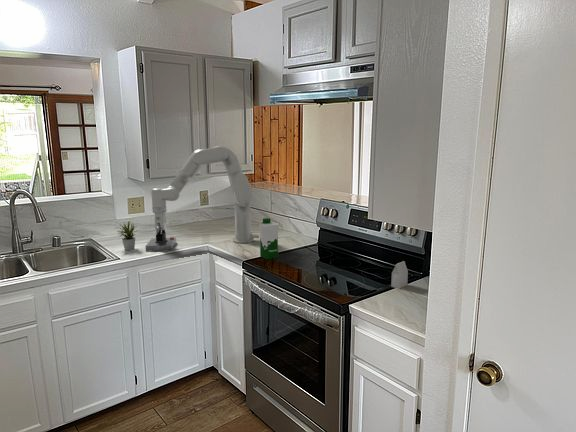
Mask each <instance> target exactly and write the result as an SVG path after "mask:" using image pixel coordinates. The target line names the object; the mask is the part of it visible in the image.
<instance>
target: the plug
mask: <svg viewBox="0 0 576 432" xmlns="http://www.w3.org/2000/svg"><path fill="white" fill-rule="evenodd" d="M162 237H163V241H157V238H156V237H155V238H156V243H166V238H167V233H166V232H165V233H162Z"/></svg>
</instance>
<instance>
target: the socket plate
mask: <svg viewBox="0 0 576 432" xmlns="http://www.w3.org/2000/svg"><path fill="white" fill-rule="evenodd" d="M176 244H177V238H176V237H175V236H170V237H166V243H156V237H154V238H151V239H149V241H148V242H147V243H146V245H145V252H161V251H163V252H164V251H165V252H166V251H172V250H173V249H174V248H175V245H176Z"/></svg>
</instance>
